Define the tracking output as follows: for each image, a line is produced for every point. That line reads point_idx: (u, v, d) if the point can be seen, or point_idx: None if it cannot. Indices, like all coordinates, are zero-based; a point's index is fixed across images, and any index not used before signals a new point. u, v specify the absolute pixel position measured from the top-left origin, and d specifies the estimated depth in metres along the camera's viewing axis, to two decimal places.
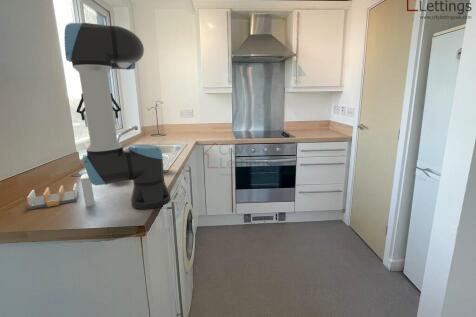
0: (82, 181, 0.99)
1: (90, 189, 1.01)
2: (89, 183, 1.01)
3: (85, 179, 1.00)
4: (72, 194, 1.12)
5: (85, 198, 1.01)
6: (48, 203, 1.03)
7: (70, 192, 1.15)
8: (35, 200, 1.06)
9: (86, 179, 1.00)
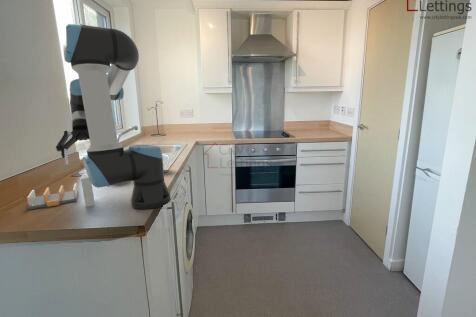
0: (82, 181, 0.99)
1: (90, 189, 1.01)
2: (89, 183, 1.01)
3: (85, 179, 1.00)
4: (72, 194, 1.12)
5: (85, 198, 1.01)
6: (48, 203, 1.03)
7: (70, 192, 1.15)
8: (35, 200, 1.06)
9: (86, 179, 1.00)
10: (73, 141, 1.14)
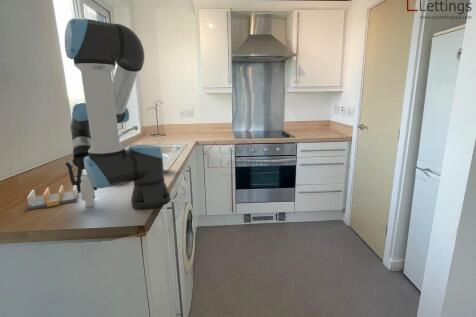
0: (82, 181, 0.99)
1: (90, 189, 1.01)
2: (89, 183, 1.01)
3: (85, 179, 1.00)
4: (72, 194, 1.12)
5: (85, 198, 1.01)
6: (48, 203, 1.03)
7: (70, 192, 1.15)
8: (35, 200, 1.06)
9: (86, 179, 1.00)
10: (81, 171, 1.06)
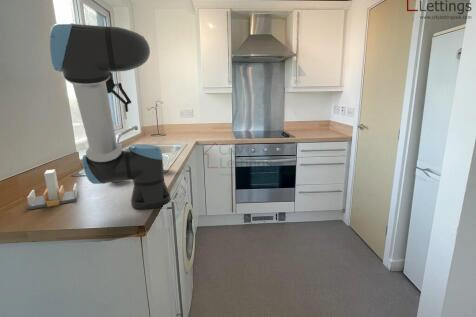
0: (45, 176, 1.04)
1: (54, 184, 1.05)
2: (53, 178, 1.05)
3: (48, 174, 1.04)
4: (72, 194, 1.12)
5: (49, 192, 1.05)
6: (48, 203, 1.03)
7: (70, 192, 1.15)
8: (35, 200, 1.06)
9: (49, 174, 1.04)
10: None
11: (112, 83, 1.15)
